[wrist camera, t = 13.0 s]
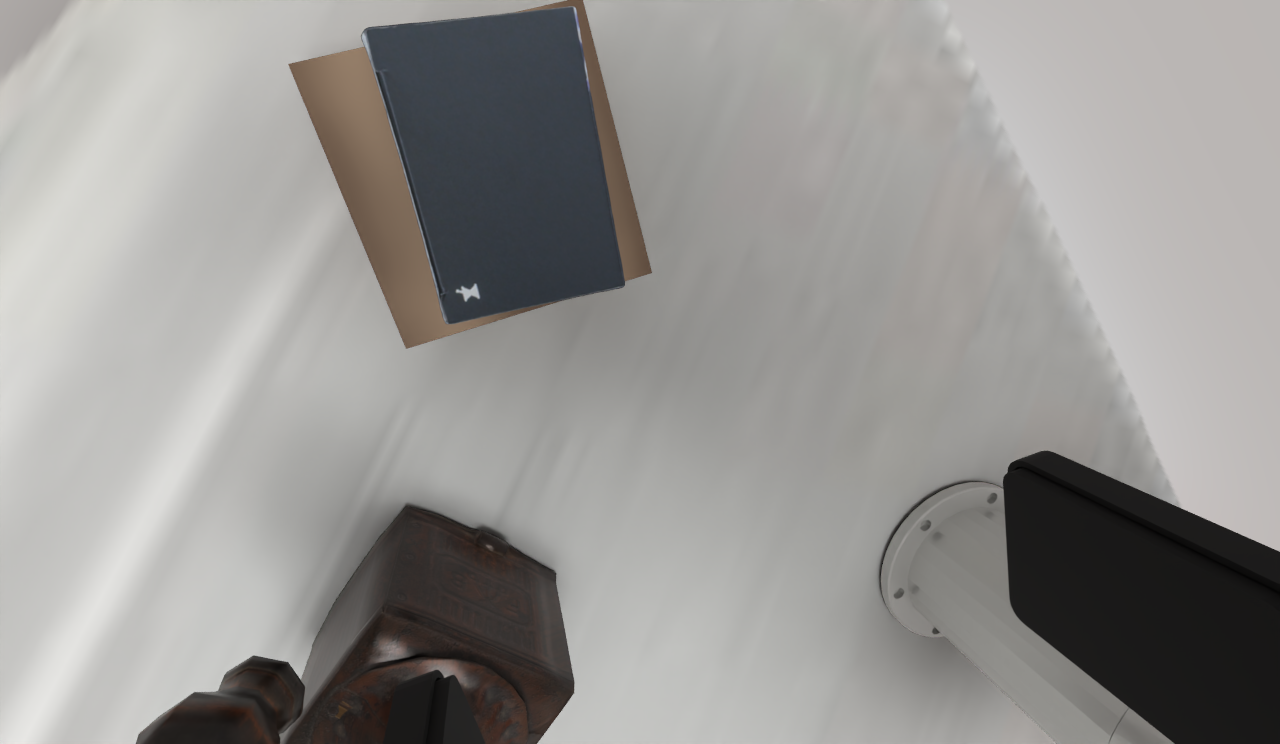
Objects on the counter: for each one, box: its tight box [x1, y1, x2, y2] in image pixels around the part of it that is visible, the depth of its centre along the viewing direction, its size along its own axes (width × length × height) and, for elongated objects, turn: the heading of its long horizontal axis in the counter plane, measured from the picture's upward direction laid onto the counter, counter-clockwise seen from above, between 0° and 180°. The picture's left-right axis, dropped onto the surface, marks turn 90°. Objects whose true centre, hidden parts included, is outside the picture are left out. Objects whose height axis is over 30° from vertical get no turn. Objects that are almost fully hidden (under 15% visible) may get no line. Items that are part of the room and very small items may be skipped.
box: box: [361, 6, 625, 325], centre depth 21 cm, size 8×6×11 cm
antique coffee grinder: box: [136, 506, 574, 744], centre depth 26 cm, size 16×11×18 cm
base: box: [288, 0, 652, 349], centre depth 28 cm, size 12×12×4 cm
